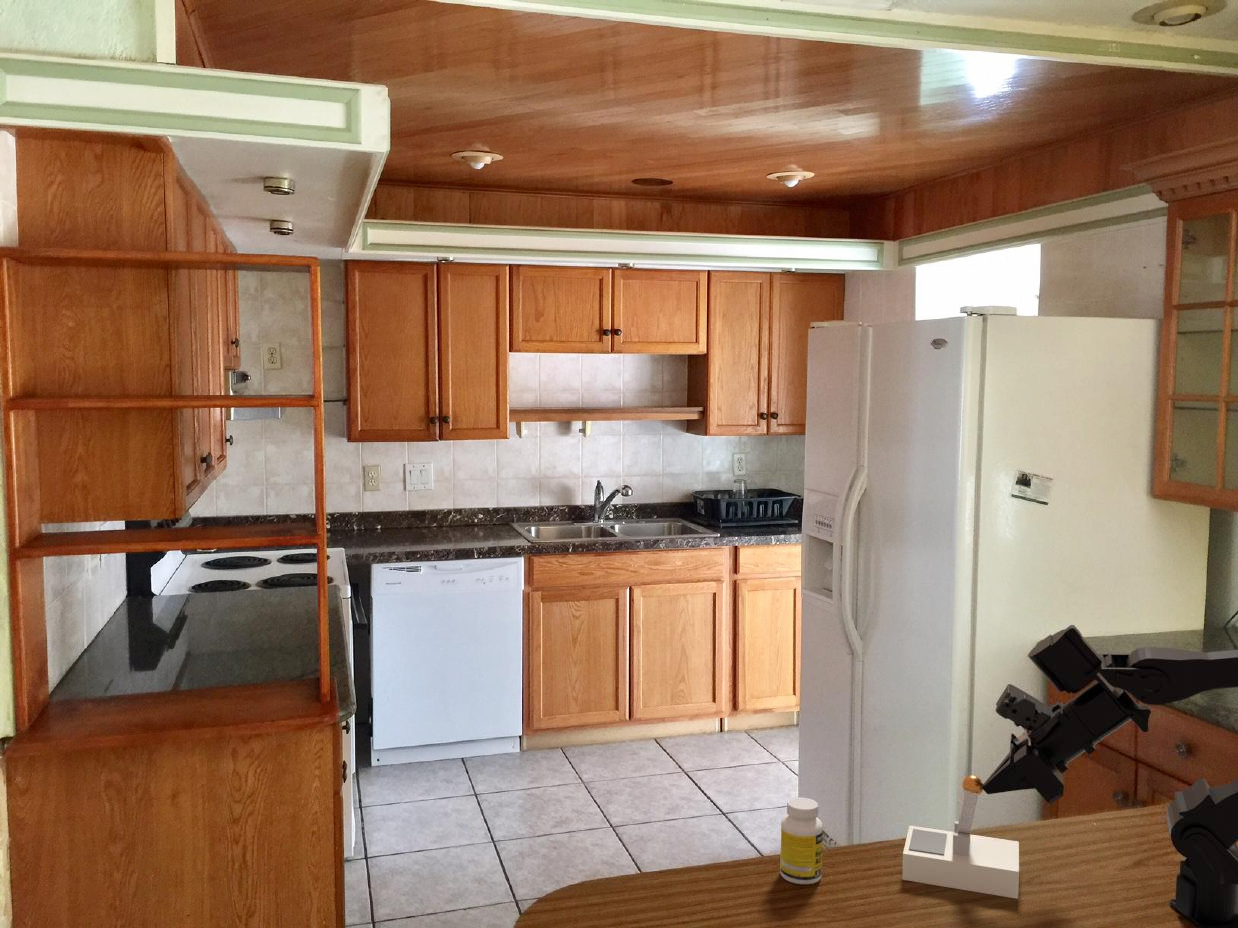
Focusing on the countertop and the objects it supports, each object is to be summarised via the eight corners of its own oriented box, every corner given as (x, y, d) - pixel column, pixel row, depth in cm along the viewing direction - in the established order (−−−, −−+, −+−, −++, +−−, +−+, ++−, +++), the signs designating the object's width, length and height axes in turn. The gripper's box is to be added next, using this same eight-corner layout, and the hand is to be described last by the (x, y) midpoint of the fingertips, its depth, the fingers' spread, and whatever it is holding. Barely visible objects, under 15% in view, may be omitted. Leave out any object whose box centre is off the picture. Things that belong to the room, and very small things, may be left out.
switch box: (1017, 866, 137) (1019, 823, 136) (1018, 898, 129) (1019, 852, 128) (908, 849, 142) (909, 807, 141) (902, 879, 134) (903, 834, 133)
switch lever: (971, 843, 136) (985, 775, 134) (970, 851, 133) (985, 782, 132) (951, 836, 137) (964, 769, 135) (950, 845, 134) (964, 776, 133)
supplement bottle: (822, 887, 131) (823, 813, 131) (779, 883, 133) (780, 809, 132) (822, 867, 137) (823, 796, 136) (781, 864, 138) (782, 793, 137)
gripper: (1037, 651, 139) (946, 718, 143) (1040, 690, 121) (936, 765, 126) (1096, 717, 137) (1002, 782, 141) (1109, 766, 119) (1000, 839, 124)
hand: (984, 789), depth 133 cm, fingers closed, pressing on switch lever
